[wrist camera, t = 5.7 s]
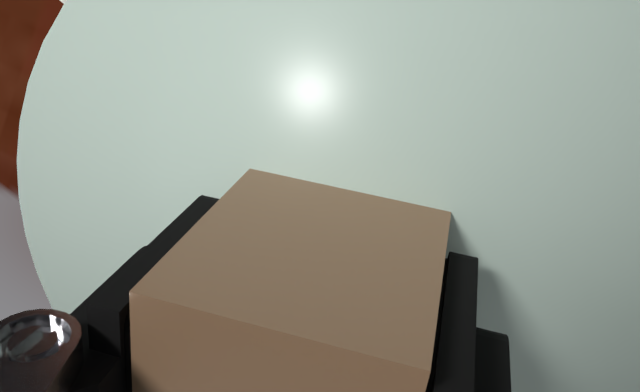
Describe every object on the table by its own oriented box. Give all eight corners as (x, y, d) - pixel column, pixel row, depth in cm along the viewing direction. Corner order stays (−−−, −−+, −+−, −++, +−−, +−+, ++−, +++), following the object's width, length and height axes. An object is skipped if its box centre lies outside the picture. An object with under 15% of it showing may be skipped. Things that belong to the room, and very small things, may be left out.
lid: (915, -70, 9) (1469, -61, 4) (590, 568, 15) (636, 871, 10) (13, -175, 11) (-347, -251, 6) (68, 407, 18) (-88, 587, 13)
